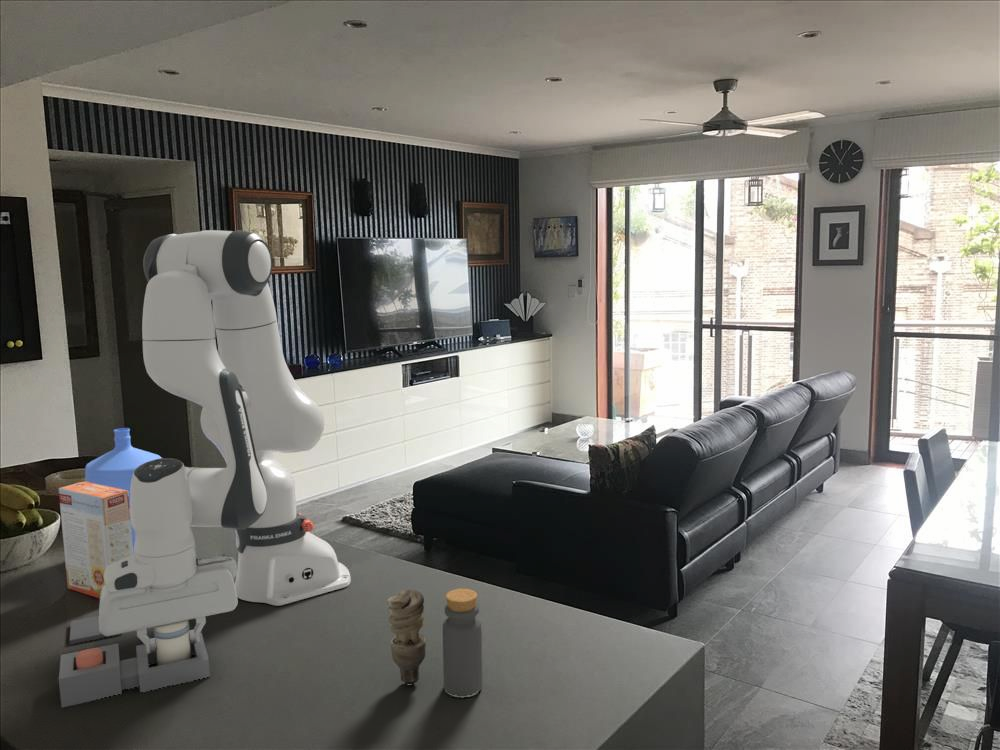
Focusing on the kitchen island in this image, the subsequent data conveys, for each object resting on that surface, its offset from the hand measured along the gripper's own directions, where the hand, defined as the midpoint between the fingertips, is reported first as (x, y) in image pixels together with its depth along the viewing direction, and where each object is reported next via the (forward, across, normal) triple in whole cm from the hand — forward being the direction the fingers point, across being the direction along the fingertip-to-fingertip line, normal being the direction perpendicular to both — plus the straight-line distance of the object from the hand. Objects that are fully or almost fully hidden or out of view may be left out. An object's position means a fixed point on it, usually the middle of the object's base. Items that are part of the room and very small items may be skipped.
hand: (173, 646), depth 128 cm
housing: (+4, +5, 0) cm, 7 cm away
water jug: (+4, +4, -58) cm, 58 cm away
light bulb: (+4, -32, +21) cm, 38 cm away
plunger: (+3, +12, 0) cm, 12 cm away
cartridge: (+4, 0, 0) cm, 4 cm away
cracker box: (+4, +10, -39) cm, 40 cm away
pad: (+4, +11, -21) cm, 24 cm away
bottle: (+4, -38, +26) cm, 47 cm away
